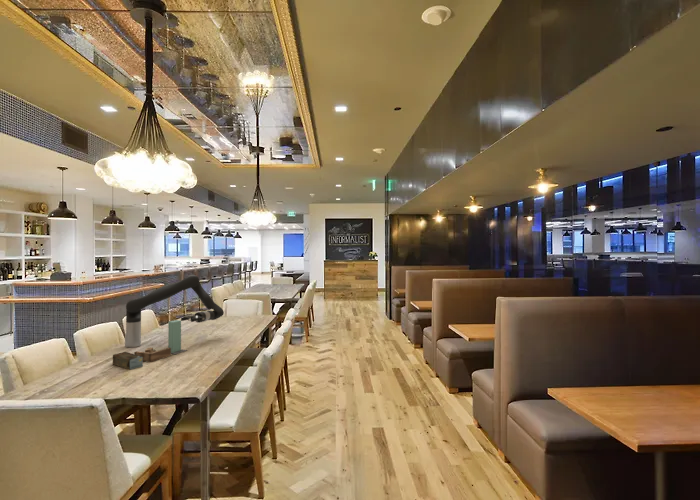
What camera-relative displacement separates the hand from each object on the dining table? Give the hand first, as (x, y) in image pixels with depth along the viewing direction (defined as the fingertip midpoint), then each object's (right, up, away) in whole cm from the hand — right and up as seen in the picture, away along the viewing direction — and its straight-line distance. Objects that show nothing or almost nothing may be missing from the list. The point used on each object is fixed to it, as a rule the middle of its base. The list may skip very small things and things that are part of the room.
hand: (186, 319), depth 264 cm
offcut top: (-13, -16, -24) cm, 32 cm away
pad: (-3, -19, -10) cm, 22 cm away
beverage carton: (-17, -20, -41) cm, 49 cm away
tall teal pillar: (-3, -19, -10) cm, 22 cm away
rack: (-11, -19, -24) cm, 33 cm away
